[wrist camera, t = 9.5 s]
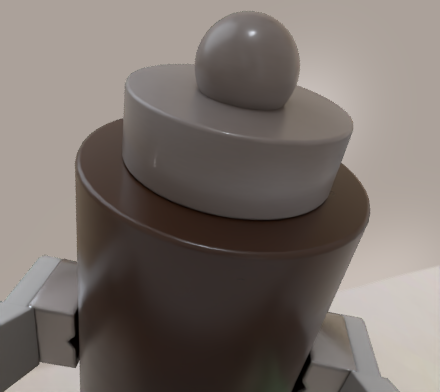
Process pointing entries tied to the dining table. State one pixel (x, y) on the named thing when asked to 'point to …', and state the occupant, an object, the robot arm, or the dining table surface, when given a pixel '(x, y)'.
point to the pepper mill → (214, 220)
